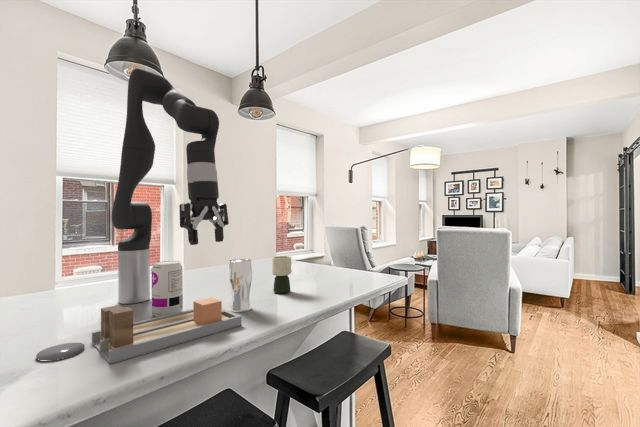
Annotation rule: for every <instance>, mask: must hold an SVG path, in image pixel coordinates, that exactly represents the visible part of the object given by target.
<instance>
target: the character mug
mask: <svg viewBox="0 0 640 427" xmlns="http://www.w3.org/2000/svg"><path fill="white" fill-rule="evenodd" d="M271 261H272V262H271V269H272V270H271V271H272V272H271V274H272V275H273V276H275V277H274V282H273V292H274V293H283V294H285V293H289V292H291V282H290V278H289V275H291V273H292V271H293V270H292V264H293V263H292V262H293V261H292V256H290V255H279V256H278V255H276V256H273V257H272V258H271Z"/></svg>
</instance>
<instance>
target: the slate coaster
mask: <svg viewBox="0 0 640 427" xmlns="http://www.w3.org/2000/svg"><path fill="white" fill-rule="evenodd" d="M85 347H86V345H85V343H83V342H66V343H65V342H64V343H61V344H57V345H52V346H50V347H47V348H44V349H42V350H41V351H39V352H37V354H36V356H35V359H36V358H37V359H39V360H57V359H62V358H66V359H68V358H67V357H69V358H71V357H70V356H72V357H74V356H73V355H75V356H77V355H79V354H80V352H81V353H82V352H83V351H85V349H84V348H85ZM78 353H79V354H78ZM76 354H77V355H76ZM37 359H36V360H37ZM62 360H63V359H62ZM57 361H58V360H57Z"/></svg>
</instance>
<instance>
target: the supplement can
mask: <svg viewBox="0 0 640 427" xmlns="http://www.w3.org/2000/svg"><path fill="white" fill-rule="evenodd" d="M183 280H184V279H183V266H182V263H181V261H179V260H163V261H156V262H154V263H153V266H152V267H151V314H152V315H153V317H154V318H156V317H161V316H165V315H170V314H174V313H179V312H183V311H184V308H183V306H184V303H183V301H184V300H183V299H184V297H183V295H184V294H183V290H184V288H183Z"/></svg>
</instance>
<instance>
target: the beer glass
mask: <svg viewBox="0 0 640 427" xmlns="http://www.w3.org/2000/svg"><path fill="white" fill-rule="evenodd" d="M228 261H229V262H228V273H227V274H228V285H229V289H230V294H231V296H230V297H231V302H230V306H229V307H230V308H229V311H230V312H232V313H246V312H248V311H250V310H251V309H252V308H251V307H252V306H251V301H250V292H251V286H252V280H253V279H252V278H253V268H252V266H253V264H252V259H250V258H235V259H230V260H228Z"/></svg>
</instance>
